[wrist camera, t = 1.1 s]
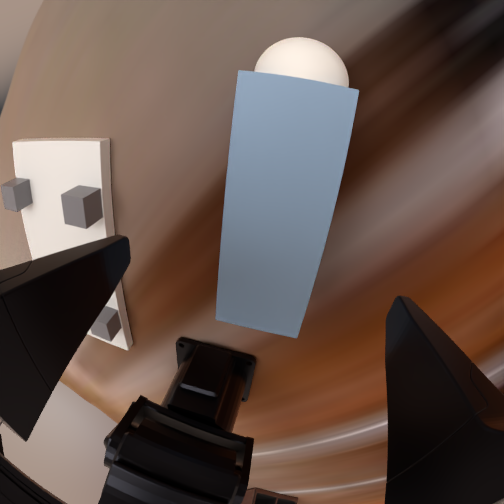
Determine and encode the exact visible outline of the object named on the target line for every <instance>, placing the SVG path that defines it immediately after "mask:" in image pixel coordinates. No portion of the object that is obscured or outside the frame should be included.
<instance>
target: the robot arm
mask: <svg viewBox="0 0 504 504" xmlns="http://www.w3.org/2000/svg"><path fill="white" fill-rule="evenodd" d="M130 259H131V256H130V246H129V239H128V238H127V237H126V236H122V235H114V236H110V237H107V238H103V239H100V240H96V241H93V242H89V243H86V244H83V245H79V246H76V247H73V248H69V249H66V250H63V251H59V252H56V253H53V254H50V255H47V256H44V257H40V258H37V259H34V260H33V261H32V260H31V261H28V262H25V263H22V264H19V265H16V266H12V267H9V268H6V269H2V270H0V426H1V424H2V423H3V424H5V425H6V426H7V427H8V428H9V429H10V430H12V431H13V432H14V433H16V434H17V435H18V436H19V437H20V438H22V439H23V440H24V441H25V442H26V441H27V440H28V438H29V436H30V434H31V432H32V430H33V428H34V426H35V424H36V422H37V420H38V418H39V416H40V414H41V412H42V411H43V408H44V407H45V405H46V403H47V401H48V399H49V397H50V395H51V394H52V391H53V390H54V388H55V386H56V385H57V383H58V381H59V379H60V378H61V376H62V374H63V372H64V371H65V369H66V367H67V366H68V364H69V362H70V360H71V359H72V357H73V355H74V354H75V352H76V351H77V349H78V347H79V346H80V344H81V342H82V341H83V339H84V338H85V336H86V335H87V333H88V331H89V330H90V328H91V327H92V325H93V324H94V322H95V321H96V319H97V317H98V316H99V314H100V313H101V311H102V310H103V308H104V307H105V305H106V304H107V303H108V301H109V299H110V298H111V296H112V294H113V293H114V291H115V289H116V287H117V285H118V284H119V282H120V280H121V278H122V276H123V275H124V273H125V271H126V269H127V267H128V266H129V264H130ZM176 352H177V363H178V371H177V373H176V375H175V377H174V379H173V381H172V383H171V385H170V387H169V389H168V391H167V394H166V396H165V398H164V400H163V402H162V404H161V406H160V405H158V404H156V403H154V402H152V401H149V400H148V398H146V397H144V396H142V395H141V396H140V397H139V398H138V400H137V401H136V402H132V404H131V406H130V408H129V409H128V411H127V413H126V414H125V416H124V417H123V418H122V420H121V421H120V422H119V424H118V425H117V426H116V427H115V428H114V429H113V430H112V431H111V432H110V433H109V435H107V436H106V438H105V440H104V445H105V447H106V453H105V454H106V455H105V459H104V466H106V467H108V468H110V470H109V473H108V476H107V479H106V482H105V485H104V488H103V491H102V495H101V498H100V500H99V503H98V504H241V503H242V501H243V499H244V496H245V493H246V490H247V486H248V481H249V474H250V467H251V459H252V451H253V444H254V438H250V437H243V436H240V435H237V434H234V433H232V431H233V427H234V424H235V421H236V417H237V414H238V410H239V407H240V404H241V401H242V402H246V401H247V400H248V396H249V392H250V387H251V383H252V378H253V374H254V369H255V365H256V359H255V358H254V357H253V356H250V355H245V354H241V353H237V352H233V351H229V350H225V349H221V348H217V347H214V346H210V345H206V344H203V343H199V342H196V341H192V340H189V339H185V338H178V340H177V342H176ZM385 367H386V383H387V405H388V461H387V483H386V494H385V504H504V395H503V394H502V393H501V392H500V391H499V390H498V389H497V388H496V386H495V385H494V384H493V383H492V382H491V381H490V380H489V379H488V378H487V377H486V376H485V375H484V374H483V373H482V372H481V371H480V370H479V369H478V367H477V366H476V365H475V364H474V363H472V361H471V360H470V359H469V358H468V357H467V355H466V354H465V353H464V352H463V351H462V350H461V349H460V348H459V347H458V346H457V345H456V344H455V343H454V342H453V341H452V340H451V339H450V338H449V337H448V336H447V335H446V333H445V332H444V331H443V330H442V329H441V328H440V327H439V326H438V325H437V324H436V323H435V322H434V321H433V320H432V319H431V318H430V317H429V316H428V315H427V314H426V313H425V312H424V311H423V310H422V309H421V308H419V307H418V306H417V305H416V304H415V303H414V302H413V301H412V300H411V299H410V298H409V297H405V296H397V297H396V298H395V300H394V302H393V304H392V306H391V308H390V310H389V312H388V315H387V318H386V347H385ZM0 504H67V503H65V502H64V501H62V500H61V499H59V498H58V497H56V496H55V495H53V494H52V493H50V492H49V491H47V490H46V489H44V488H43V487H42V486H40V485H39V484H37V483H36V482H35V481H34V480H32V479H31V478H30V477H28V476H27V475H26V474H25V473H23V472H22V471H21V470H20V469H18V468H17V467H16V466H15V465H14V464H12V463H11V462H10V461H9V460H8V459H7V458H5V457H4V452H3V446H2V439H1V434H0Z"/></svg>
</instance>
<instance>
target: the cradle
mask: <svg viewBox="0 0 504 504" xmlns="http://www.w3.org/2000/svg"><path fill="white" fill-rule="evenodd" d="M12 143H13V155H14V165H15V174H16V178H15V179H13V180H11V181H8V182H6V183H4V184H2V185H1V190H2V196H3V202H4V207H5V209H7V210H11V211H15V212H18V211H20V210H21V212H22V217H23V222H24V227H25V231H26V236H27V240H28V244H29V248H30V252H31V255H32V259H33V260H34V259H37V258H40V257H44V256H47V255H50V254H53V253H56V252H59V251H63V250H66V249H69V248H73V247H76V246H79V245H83V244H86V243H89V242H93V241H96V240H100V239H103V238H107V237H110V236H114V235H115V229H114V219H113V207H112V192H111V172H110V138H31V139H20V140H17V141H14V142H12ZM87 334H89V335H91V336H93V337H95V338H98V339H100V340H103V341H105V342H107V343H110V344H112V345H115V346H117V347H120V348H122V349H125V350H129V349H130V347H131V346H132V344H133V340H132V336H131V331H130V327H129V322H128V317H127V312H126V306H125V301H124V295H123V289H122V283H121V280H120V282H119V284H118V285H117V287H116V289H115V291H114V293H113V294H112V296H111V298H110V299H109V301H108V303H107V304H106V305H105V307H104V308H103V310H102V311H101V313H100V314H99V316H98V317H97V319H96V321H95V322H94V324H93V325H92V327H91V328H90V330H89V331H88V333H87Z"/></svg>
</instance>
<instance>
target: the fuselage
mask: <svg viewBox="0 0 504 504" xmlns="http://www.w3.org/2000/svg"><path fill="white" fill-rule="evenodd" d="M358 94H359V90H356V89H352V88H349V79H348V73H347V70H346V67H345V65H344V63H343V61H342V60H341V58H340V57H339V56H338V55H337V54H336V52H334V51H333V50H332V49H331V48H330V47H328V46H327V45H325V44H323V43H321V42H319V41H316V40H314V39H309V38H302V37H295V38H288V39H284V40H281V41H279V42H277V43H275V44H273V45H272V46H270V47H269V48H268V49H267V50H266V51H265V52H264V53H263V54H262V55H261V57H260V58H259V60H258V62H257V64H256V67H255V70H254V72H252V71H240V70H239V71H238V79H237V87H236V95H235V104H234V112H233V121H232V130H231V139H230V148H229V158H228V168H227V178H226V189H225V199H224V210H223V222H222V234H221V246H220V259H219V273H218V287H217V303H216V319H215V320H219V321H223V322H227V323H231V324H235V325H239V326H243V327H247V328H252V329H256V330H260V331H265V332H269V333H274V334H279V335H283V336H288V337H293V338H297V337H298V334H299V331H300V328H301V325H302V321H303V318H304V315H305V312H306V309H307V305H308V302H309V299H310V296H311V292H312V289H313V286H314V282H315V279H316V275H317V272H318V268H319V265H320V261H321V258H322V254H323V250H324V247H325V243H326V239H327V235H328V232H329V228H330V224H331V220H332V216H333V212H334V208H335V204H336V200H337V196H338V192H339V187H340V183H341V179H342V174H343V170H344V165H345V161H346V156H347V151H348V147H349V142H350V137H351V132H352V127H353V121H354V116H355V111H356V105H357V100H358Z"/></svg>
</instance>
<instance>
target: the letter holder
mask: <svg viewBox="0 0 504 504" xmlns="http://www.w3.org/2000/svg"><path fill="white" fill-rule="evenodd" d="M297 502H298V498H296V497H292V496H287V495H283V494H279V493H275V492H271V491H267V490H263V489H259V488H253V489H248V490H246V493H245V496H244V499H243V501H242V503H241V504H297Z"/></svg>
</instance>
